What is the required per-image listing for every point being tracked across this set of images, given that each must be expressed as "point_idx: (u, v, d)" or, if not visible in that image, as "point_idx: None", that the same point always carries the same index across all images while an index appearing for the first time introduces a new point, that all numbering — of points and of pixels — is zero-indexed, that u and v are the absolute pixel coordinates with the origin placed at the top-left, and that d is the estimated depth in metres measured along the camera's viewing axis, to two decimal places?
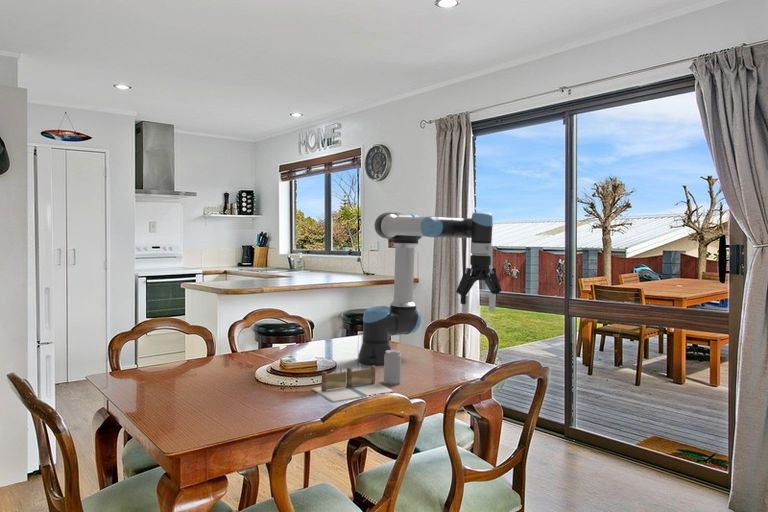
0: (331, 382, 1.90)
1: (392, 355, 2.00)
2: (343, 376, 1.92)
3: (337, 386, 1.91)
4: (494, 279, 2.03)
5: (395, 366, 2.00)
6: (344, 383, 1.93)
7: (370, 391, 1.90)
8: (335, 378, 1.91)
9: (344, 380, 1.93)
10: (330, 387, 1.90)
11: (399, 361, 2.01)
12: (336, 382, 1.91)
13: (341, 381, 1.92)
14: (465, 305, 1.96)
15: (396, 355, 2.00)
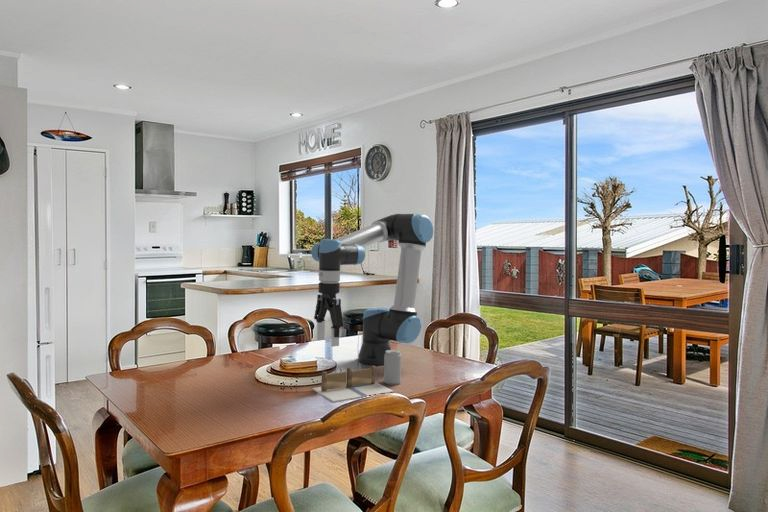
0: (331, 382, 1.90)
1: (392, 355, 2.00)
2: (343, 376, 1.92)
3: (337, 386, 1.91)
4: None
5: (395, 366, 2.00)
6: (344, 383, 1.93)
7: (370, 391, 1.90)
8: (335, 378, 1.91)
9: (344, 380, 1.93)
10: (330, 387, 1.90)
11: (399, 361, 2.01)
12: (336, 382, 1.91)
13: (341, 381, 1.92)
14: None
15: (396, 355, 2.00)
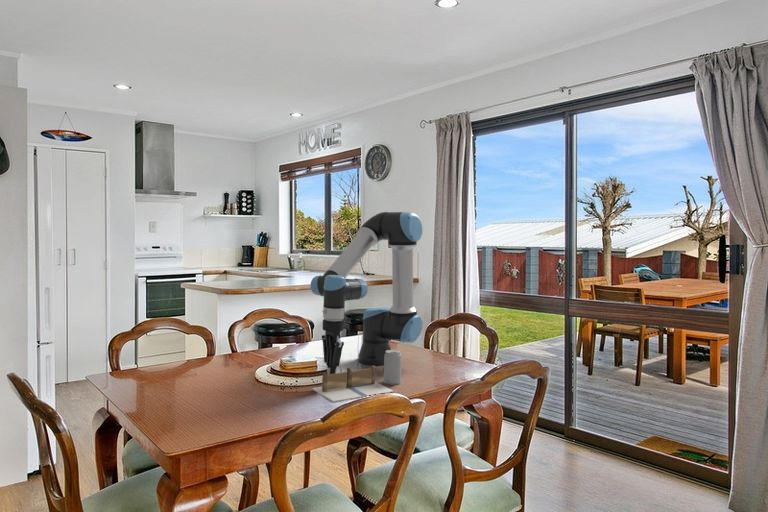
0: (332, 382, 1.89)
1: (392, 355, 2.00)
2: (343, 376, 1.92)
3: (337, 386, 1.91)
4: None
5: (395, 366, 2.00)
6: (344, 383, 1.93)
7: (370, 391, 1.90)
8: (336, 378, 1.90)
9: (344, 380, 1.93)
10: (331, 387, 1.89)
11: (399, 361, 2.01)
12: (336, 382, 1.91)
13: (341, 381, 1.92)
14: None
15: (396, 355, 2.00)
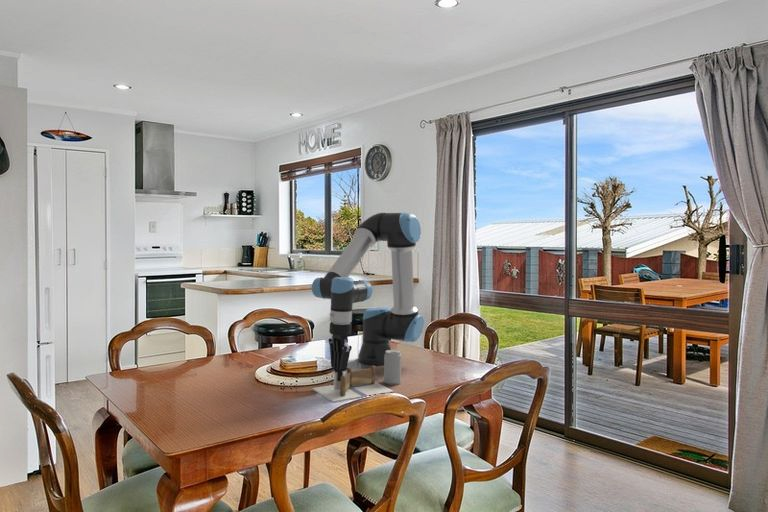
0: (346, 385, 1.87)
1: (392, 355, 2.00)
2: (349, 377, 1.92)
3: (347, 388, 1.89)
4: None
5: (395, 366, 2.00)
6: (349, 384, 1.92)
7: (370, 391, 1.90)
8: (347, 380, 1.88)
9: (349, 381, 1.92)
10: (345, 390, 1.87)
11: (399, 361, 2.01)
12: (347, 384, 1.89)
13: (348, 382, 1.91)
14: None
15: (396, 355, 2.00)
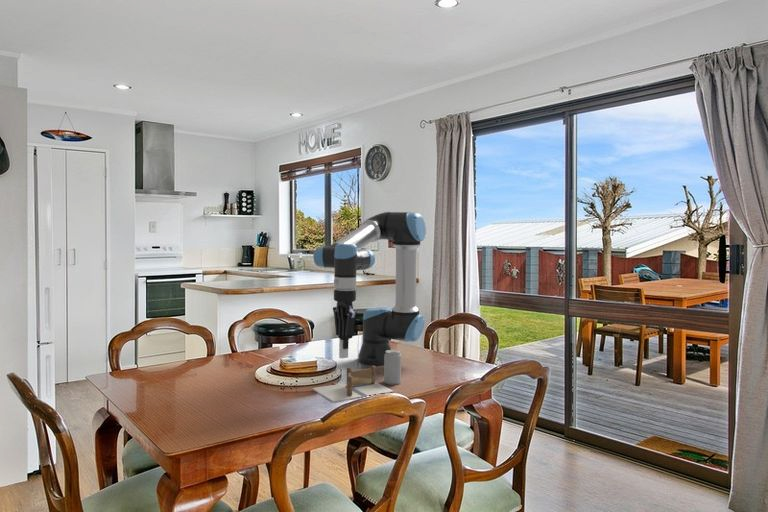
0: None
1: (392, 355, 2.00)
2: None
3: None
4: None
5: (395, 366, 2.00)
6: None
7: (370, 391, 1.90)
8: None
9: None
10: None
11: (399, 361, 2.01)
12: None
13: None
14: None
15: (396, 355, 2.00)
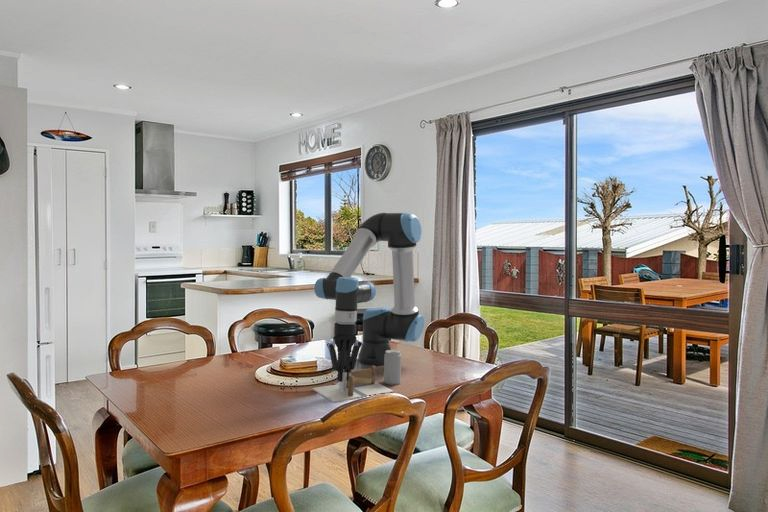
0: None
1: (392, 355, 2.00)
2: None
3: None
4: (354, 353, 1.87)
5: (395, 366, 2.00)
6: None
7: (370, 391, 1.90)
8: None
9: None
10: None
11: (399, 361, 2.01)
12: None
13: None
14: (342, 382, 1.85)
15: (396, 355, 2.00)
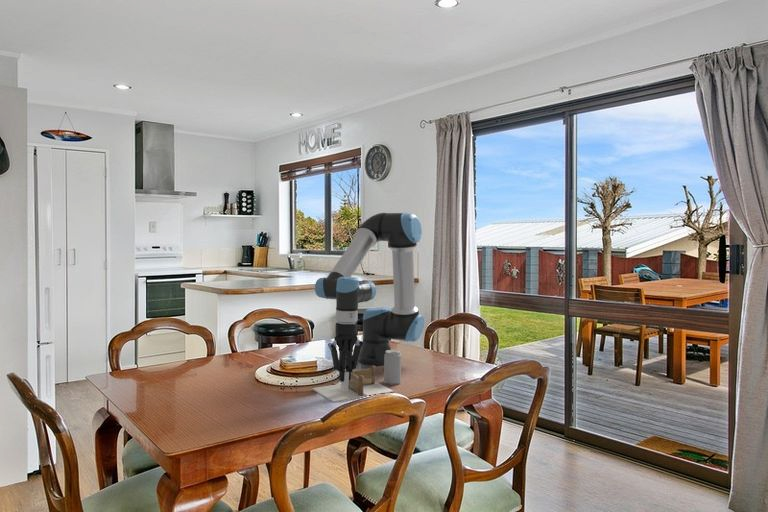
0: None
1: (392, 355, 2.00)
2: None
3: None
4: (356, 352, 1.87)
5: (395, 366, 2.00)
6: None
7: (370, 391, 1.90)
8: None
9: None
10: None
11: (399, 361, 2.01)
12: None
13: None
14: (344, 382, 1.85)
15: (396, 355, 2.00)
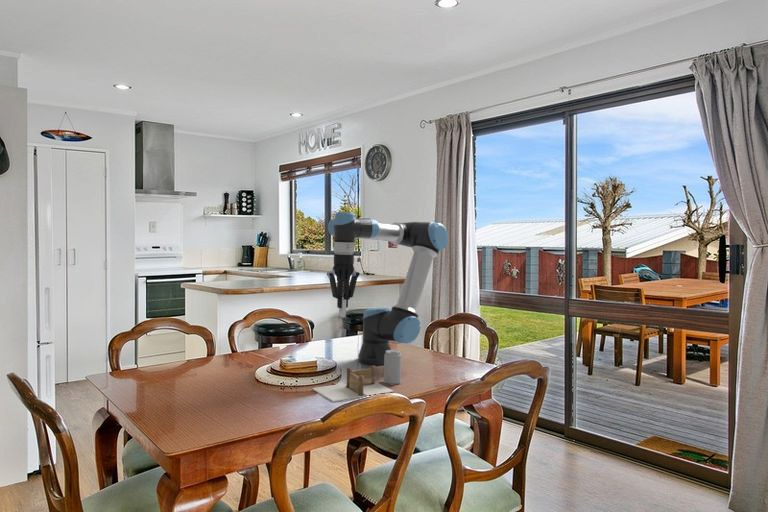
0: None
1: (392, 355, 2.00)
2: None
3: None
4: (353, 282, 2.03)
5: (395, 366, 2.00)
6: None
7: (370, 391, 1.90)
8: None
9: None
10: None
11: (399, 361, 2.01)
12: None
13: None
14: (341, 309, 2.01)
15: (396, 355, 2.00)
